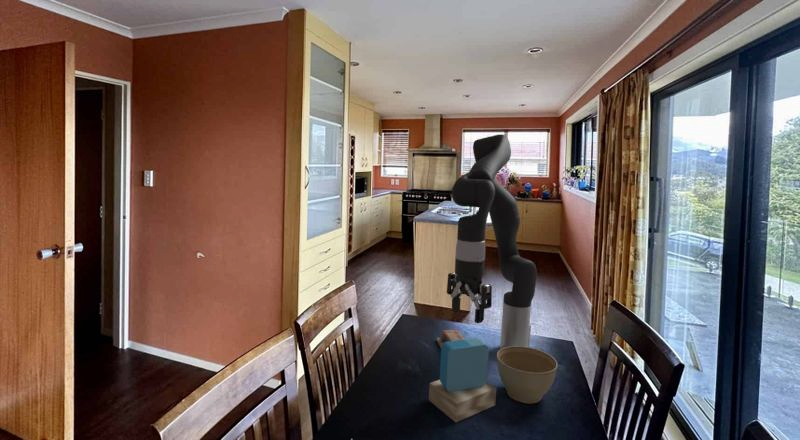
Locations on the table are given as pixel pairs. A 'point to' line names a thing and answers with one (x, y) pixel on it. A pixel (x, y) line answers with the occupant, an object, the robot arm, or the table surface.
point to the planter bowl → (526, 372)
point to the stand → (462, 400)
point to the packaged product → (449, 336)
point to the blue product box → (463, 364)
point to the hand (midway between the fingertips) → (467, 316)
